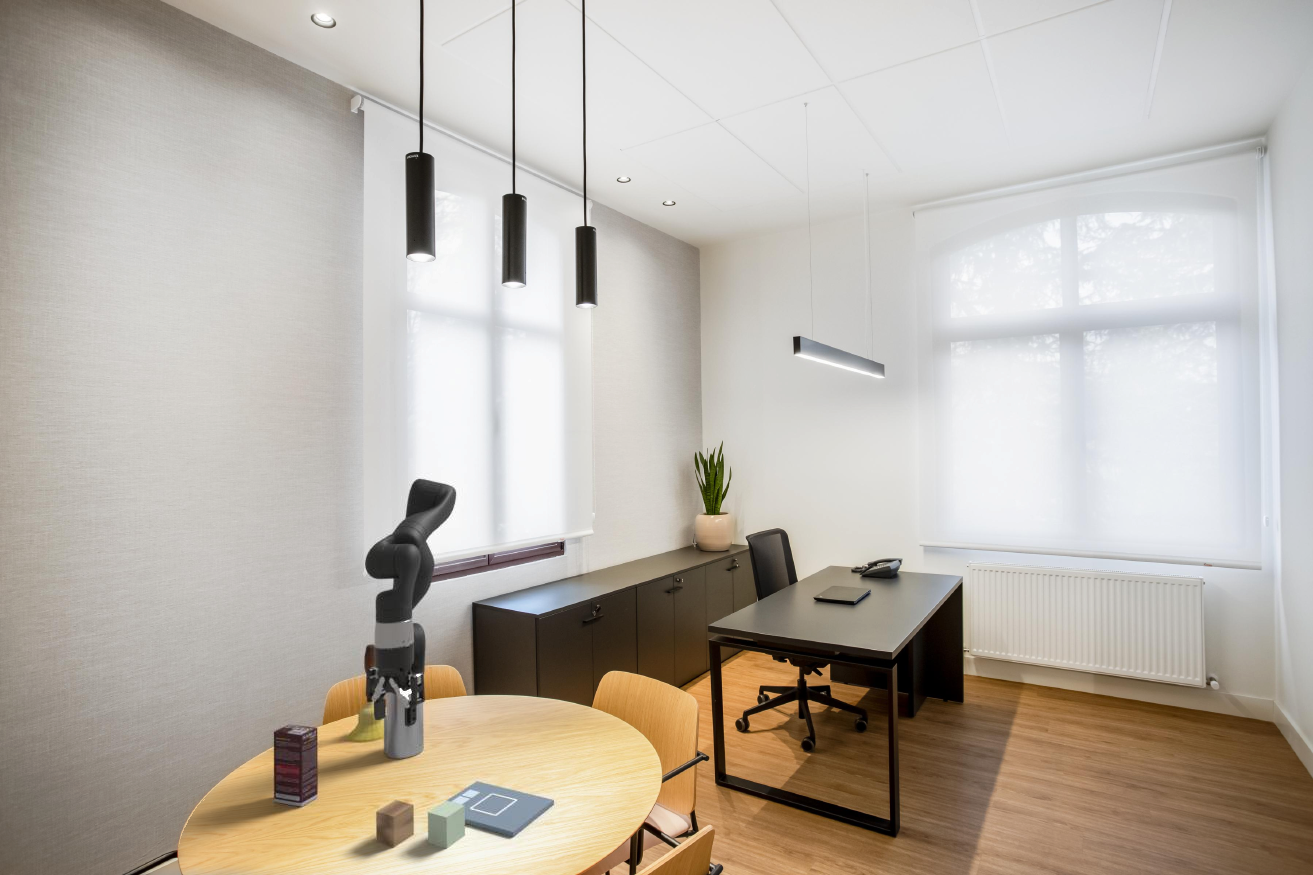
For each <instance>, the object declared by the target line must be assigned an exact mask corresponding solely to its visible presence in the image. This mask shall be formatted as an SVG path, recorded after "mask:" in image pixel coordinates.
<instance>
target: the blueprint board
mask: <svg viewBox="0 0 1313 875" xmlns="http://www.w3.org/2000/svg"><path fill="white" fill-rule="evenodd" d="M445 801H449V802H453V803H457V804H460V805H464V806H465V825H470V826H472V827H473V826H474V827H476V828H479V829H483V830H487V831H490V832H494V833H497V834H501V835H505V836H508V837H511V838H514V837H516V836H517V835H518V834H519V833H520V832H522V831H523V830H524V829H525V828H527V827H528V826H529V825H530V824H532V823H533V822H534V821H535V820H537V819H538V818H539V817H541V816H542V815H543V814H544V813H545V812H547V811H548V810H550V809H551V808H552V807H553V806H554V805H555V800H554V799H552V798H548V797H543V796H540V795H536V794H532V793H527V792H522V791H518V790H514V789H511V788H507V787H502V786H500V785H499V786H498V785H494V784H489V783H487V782H486V783H485V782H482V781H478V780H477V781H475V782H473V783H471V784H470V785H469V786H467V787H465V788H464V789H462V790H461V791H459V792H458V793H456V794H455V795H452V796H451V797H450V798H448V799H446V800H445Z"/></svg>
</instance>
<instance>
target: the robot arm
mask: <svg viewBox="0 0 1313 875" xmlns="http://www.w3.org/2000/svg"><path fill="white" fill-rule="evenodd" d="M410 486H411V487H410V489H409V492H408V497H407V501H406V510H405V518H404V519H403V520H402V521H401V522H400V523H398V525H397V527H395V529H394V531H393V532H392V533H391V534H389V535H387V536H385V537H384V538H381V539H380V540H378V541H377V542H375V544H373V545H372V547H370V549H369V550H368V551H367V554H366V556H365V561H364V566H365V571H366V572H367V574H368V575H369V577H371V578H373V579H376V580H392V579H393V585H392V589H391V588H389V589H387V590H383V591H381V592H379V593H378V594H377V595H376V596H375V626H374V645H375V667H372V668H369V669H367V672H365V674H366V676H365V679H366V680H365V697H366V699H367V698H369V697H370V698H372V701H373V702H374V716H375V720H381V719H383V718H384V738H383V754H386V756H387V757H388V758H391V759H399V760H400V759H406V758H410V757H414V756H417V755H418V754H420V753H422V752H423V751H424V748H425V747H424V745H425V743H424V740H425V739H424V737H425V736H424V733H425V732H424V731H425V730H424V728H425V727H424V725H425V724H424V703H425V701H426V695H425V670H426V669H425V667H426V666H425V665H426V648H427V647H426V642H427V641H426V634H425V631H424V628H423V626H422V625H421V624H420V623H417V622H413V610H414V609H415V608H416V607H417V605H418V604H419V603H420V602H421V601H422V600H423V598H424V597H425V596H426V594H427V593H428V591H429V590H430V587H431V584H432V581H433V577H434V576H433V575H434V570H435V559H434V555H433V553H432V551H431V549H430V546H429V544H428V543H427V541H428V538H429V537H430V536H431V535H432V534H433V533H434V532H435V531H436V530H438V529H439V528H440V527H441V526H442V525H444V523H445V522H447V520H448V519H450V516H451V515H452V513H453V510H454V508H455V505H456V500H457V490H456V489H455V487H454V486H453V485H449V484H447V483H442V482H438V481H433V480H428V479H424V478H417V479H416V480H414V481H413V482H412V484H411V485H410ZM372 685H374V689H373V690H372Z"/></svg>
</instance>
